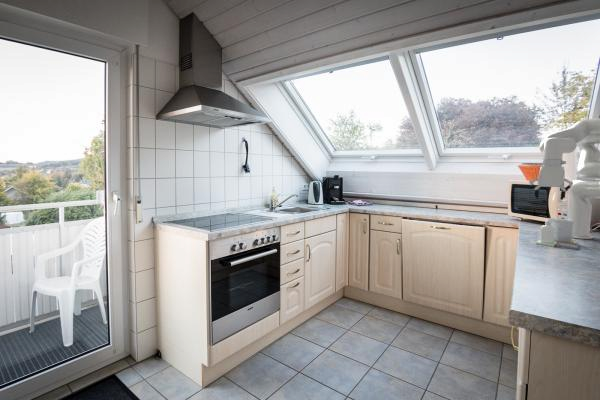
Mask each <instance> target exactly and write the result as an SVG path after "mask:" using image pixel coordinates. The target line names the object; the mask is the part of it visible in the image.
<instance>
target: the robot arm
mask: <svg viewBox="0 0 600 400" xmlns="http://www.w3.org/2000/svg"><path fill="white" fill-rule="evenodd" d="M597 144H598V145H600V117H596V118H595V117H594V118H586V119H581V120H578V121H576V122H575V123H573V124H572V125H571V126H570V127H568V128H566V129H563V130H561V131H556V132H554V133H551V134H549V135H547V136H546V137H545V138H544V139H543V140H541V142H540V144H539V150H540V152H541V153H542V165H541V166H540V168H539V172H538V176H537V178H534V179H532V180H530V181H528V183H529V185H530V187H531V188H533V189H534V197H535V198H536V199H539V197H540V188H541V187H545V188H559V189H560V190H561V191H560V200H564V199H565V198H566V191H568V195H569V197H568V199H569V202H568V215H567V220H574V222H573V233H572V239H579V240H580V239H582V240H592V239H593V238H594V236H593V235H590V232H591V231H590V230H591V222H592V221H591V220H592V210H593V205H592V203H591V202H590V200H589V199H588V198H590V199H591V198H592V199H600V149H599V148H598V147H597V146H596V145H597ZM577 146H578V149H579V151H580V156H579V159H578V164H577V168H576V171H575V173H576V177H578V178H580V179H574V180H570V179H568V178H566V177H565V171H566V170H565V166H563V165H566V164H567V161H566V160H563V156H564V155H563V154H571V153H572V152H574V151H575V150H576V149H577ZM535 182H537V185H535V184H534V183H535ZM565 183H567V184H568V185H567V186H566V187H565Z"/></svg>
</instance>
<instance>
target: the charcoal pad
mask: <svg viewBox="0 0 600 400" xmlns="http://www.w3.org/2000/svg"><path fill="white" fill-rule="evenodd" d="M556 247H557V248H560V249H561V248H563V249H569V250H577V249H578V244H575V245H573V244H565V243H556Z"/></svg>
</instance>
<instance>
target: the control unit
mask: <svg viewBox="0 0 600 400" xmlns="http://www.w3.org/2000/svg"><path fill="white" fill-rule="evenodd" d="M550 221H552V223H551V226H553V227H555V237H554V242H556V244H558V243H565V244H573V245H577V244H576V243H577V240H573V238H572V233H573V222H574V220H568V219H561V218H552V217H551V218H550Z"/></svg>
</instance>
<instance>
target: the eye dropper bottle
mask: <svg viewBox="0 0 600 400" xmlns="http://www.w3.org/2000/svg"><path fill="white" fill-rule="evenodd" d="M550 219H551V218H550V217H548V218H547V219H546V220H545V223H544V224H545V225H544V224H543V225H541V226H540V232H539V233H540V235H539V240H540V242H545V243H554V237H555V227H553V226H551V223H552V221H550Z"/></svg>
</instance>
